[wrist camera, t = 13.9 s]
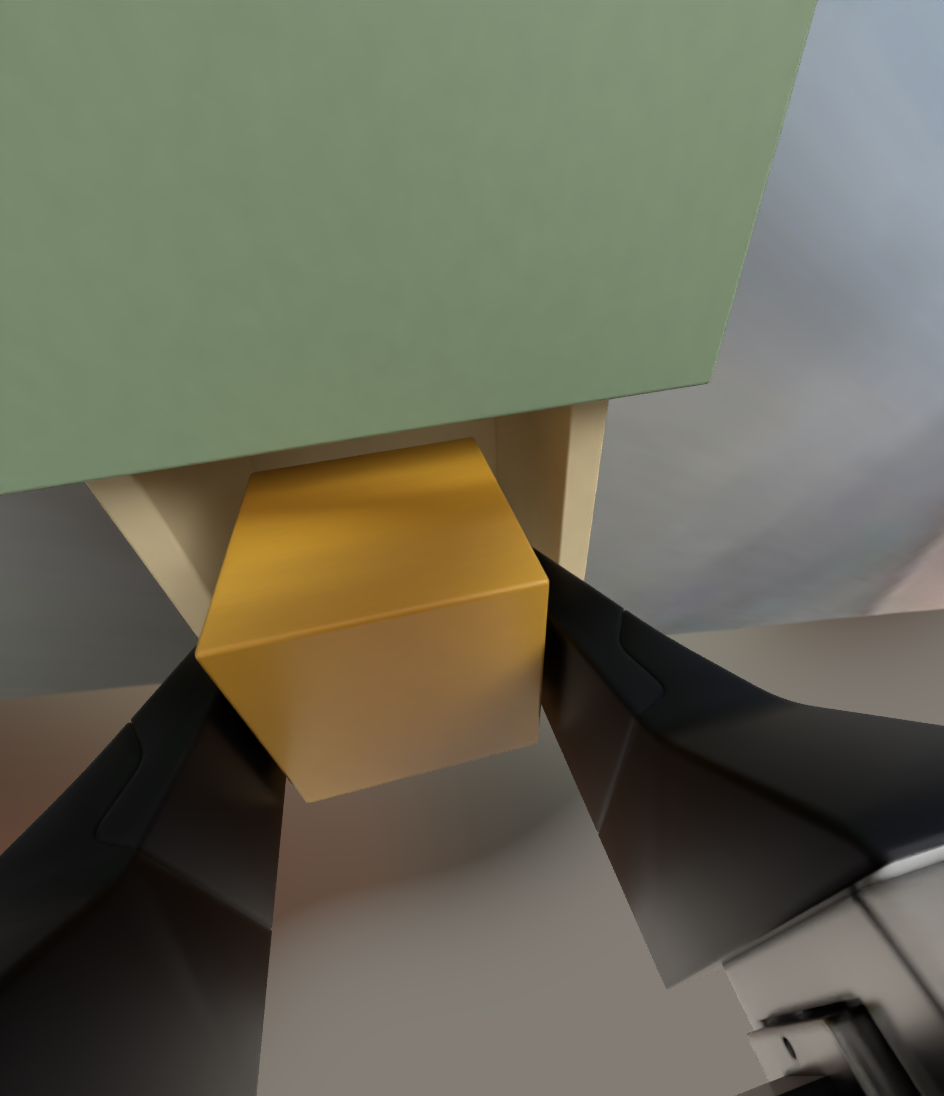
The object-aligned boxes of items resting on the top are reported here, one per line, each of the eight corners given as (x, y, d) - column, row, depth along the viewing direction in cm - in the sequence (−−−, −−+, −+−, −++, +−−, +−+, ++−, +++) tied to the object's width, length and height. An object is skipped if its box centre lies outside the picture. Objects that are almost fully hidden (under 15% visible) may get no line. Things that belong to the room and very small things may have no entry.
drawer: (524, 596, 22) (583, 730, 17) (303, 643, 21) (289, 805, 16) (531, 130, 11) (710, 79, 6) (67, 164, 10) (-271, 138, 4)
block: (316, 622, 11) (305, 805, 8) (249, 471, 8) (190, 656, 5) (483, 587, 12) (540, 744, 9) (473, 434, 9) (552, 579, 6)
